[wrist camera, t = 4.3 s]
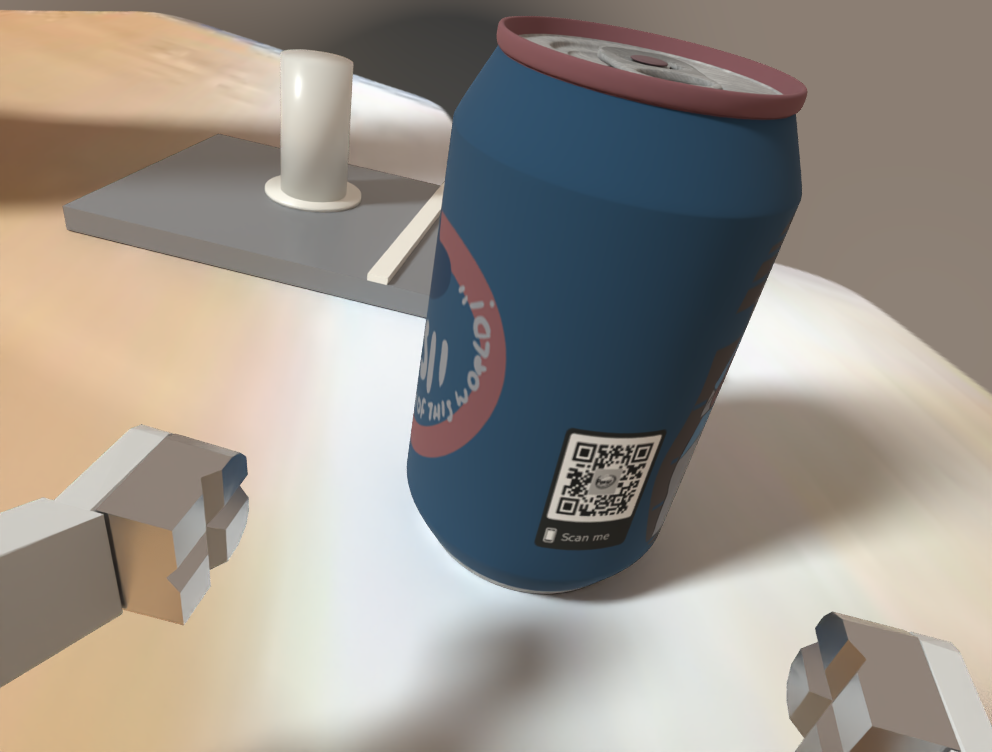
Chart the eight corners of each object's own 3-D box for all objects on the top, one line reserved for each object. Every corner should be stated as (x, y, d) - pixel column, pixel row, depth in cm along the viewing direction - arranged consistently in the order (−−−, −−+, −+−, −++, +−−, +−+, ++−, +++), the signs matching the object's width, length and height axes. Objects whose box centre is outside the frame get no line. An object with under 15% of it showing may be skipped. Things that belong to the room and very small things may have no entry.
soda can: (394, 430, 21) (445, -8, 15) (606, 434, 23) (736, 42, 16) (411, 624, 16) (503, 64, 9) (687, 612, 18) (932, 129, 11)
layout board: (67, 229, 28) (32, 42, 24) (219, 152, 38) (212, 10, 34) (702, 385, 27) (773, 212, 23) (688, 262, 37) (736, 126, 33)
